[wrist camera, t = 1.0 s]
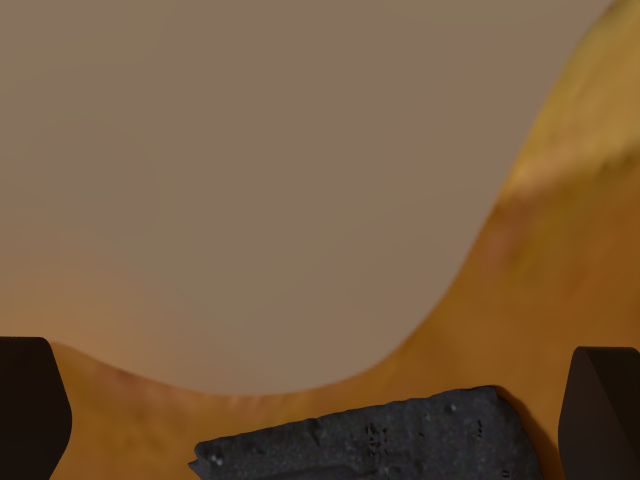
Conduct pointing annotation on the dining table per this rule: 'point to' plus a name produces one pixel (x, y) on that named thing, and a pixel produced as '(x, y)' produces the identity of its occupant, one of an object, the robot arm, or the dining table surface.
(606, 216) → the dining table surface
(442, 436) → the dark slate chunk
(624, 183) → the dining table surface
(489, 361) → the dining table surface
